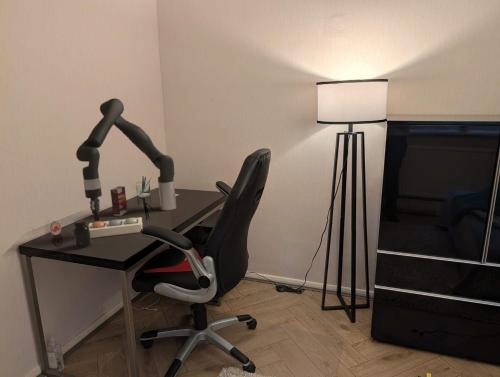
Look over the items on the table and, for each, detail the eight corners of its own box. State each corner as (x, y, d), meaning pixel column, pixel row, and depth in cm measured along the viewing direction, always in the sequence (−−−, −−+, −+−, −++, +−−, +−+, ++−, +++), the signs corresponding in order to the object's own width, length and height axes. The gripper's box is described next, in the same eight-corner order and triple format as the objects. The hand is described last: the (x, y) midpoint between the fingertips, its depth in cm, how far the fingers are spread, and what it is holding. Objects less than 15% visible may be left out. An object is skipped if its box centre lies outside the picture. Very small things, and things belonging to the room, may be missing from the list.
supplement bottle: (78, 243, 168) (75, 219, 166) (93, 242, 169) (90, 218, 166) (73, 248, 162) (69, 224, 159) (88, 247, 162) (84, 223, 159)
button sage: (137, 221, 187) (136, 217, 187) (137, 225, 182) (136, 220, 181) (126, 223, 186) (125, 218, 185) (125, 226, 181) (124, 221, 180)
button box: (142, 224, 192) (141, 217, 191) (141, 231, 180) (141, 224, 179) (90, 230, 185) (89, 223, 184) (86, 238, 174) (85, 230, 173)
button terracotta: (105, 225, 183) (104, 220, 183) (103, 229, 178) (103, 224, 177) (93, 226, 182) (92, 221, 181) (91, 230, 177) (91, 225, 176)
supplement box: (120, 216, 207) (117, 189, 203) (113, 215, 208) (109, 189, 204) (128, 211, 215) (125, 186, 212) (121, 211, 216) (117, 186, 213)
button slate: (121, 223, 185) (120, 218, 185) (120, 227, 180) (119, 222, 179) (110, 224, 184) (109, 220, 183) (108, 228, 179) (108, 223, 178)
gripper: (98, 189, 170) (103, 223, 174) (102, 183, 182) (106, 215, 186) (81, 191, 168) (87, 225, 172) (86, 185, 180) (91, 217, 184)
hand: (97, 220), depth 179 cm, fingers closed
